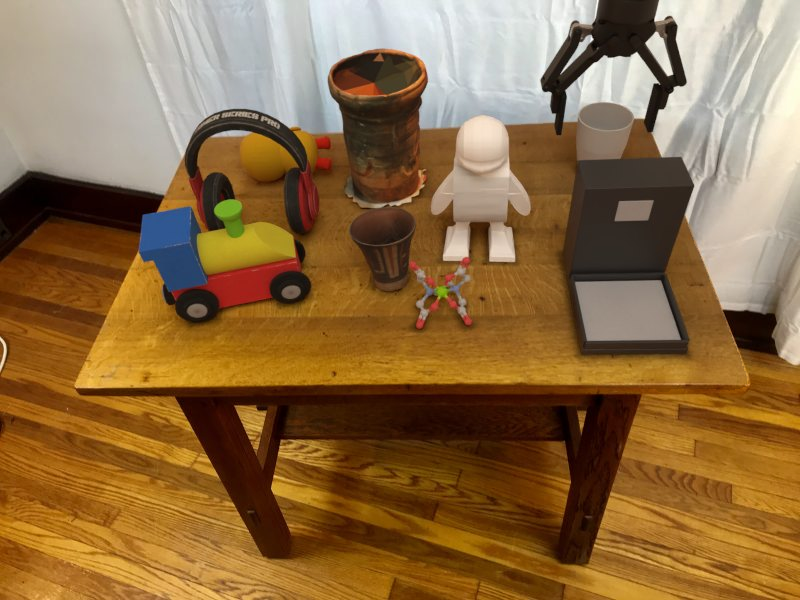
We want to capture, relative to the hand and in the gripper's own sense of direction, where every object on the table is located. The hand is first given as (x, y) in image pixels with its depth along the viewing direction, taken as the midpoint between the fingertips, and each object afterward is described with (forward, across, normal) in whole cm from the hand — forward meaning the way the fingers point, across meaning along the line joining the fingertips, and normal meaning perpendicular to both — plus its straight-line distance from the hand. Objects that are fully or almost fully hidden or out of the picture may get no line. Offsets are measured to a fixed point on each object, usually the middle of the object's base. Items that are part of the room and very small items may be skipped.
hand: (602, 129), depth 95 cm
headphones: (+8, +52, +12) cm, 54 cm away
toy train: (+8, +53, +26) cm, 60 cm away
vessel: (+8, +34, +2) cm, 35 cm away
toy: (+8, +51, -2) cm, 51 cm away
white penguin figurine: (+8, +19, +16) cm, 27 cm away
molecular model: (+8, +25, +30) cm, 40 cm away
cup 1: (+8, +32, +23) cm, 41 cm away
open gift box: (+7, +2, +29) cm, 30 cm away
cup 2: (+8, 0, 0) cm, 8 cm away
